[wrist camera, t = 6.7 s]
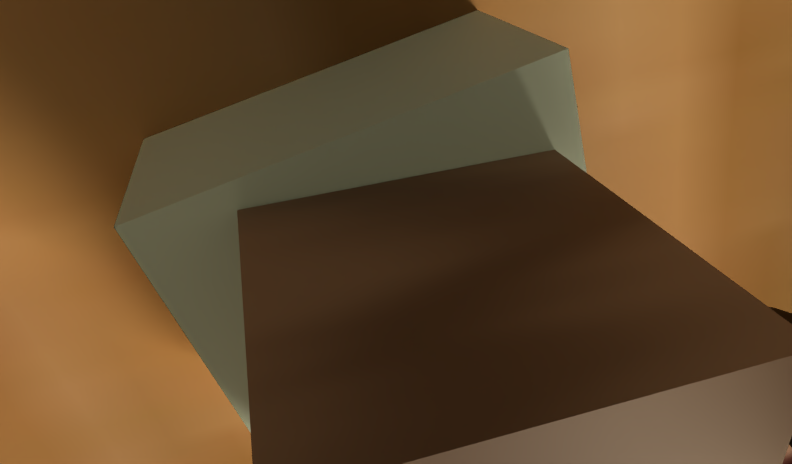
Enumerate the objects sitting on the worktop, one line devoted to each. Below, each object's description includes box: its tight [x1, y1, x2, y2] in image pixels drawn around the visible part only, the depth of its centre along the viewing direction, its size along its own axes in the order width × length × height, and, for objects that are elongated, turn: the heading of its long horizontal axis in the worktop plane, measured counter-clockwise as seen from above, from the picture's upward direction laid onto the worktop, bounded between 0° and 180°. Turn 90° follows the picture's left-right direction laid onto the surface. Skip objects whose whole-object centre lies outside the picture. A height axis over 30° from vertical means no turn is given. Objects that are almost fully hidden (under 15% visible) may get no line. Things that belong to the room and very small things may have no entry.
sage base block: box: [114, 10, 587, 432], centre depth 12 cm, size 7×7×4 cm
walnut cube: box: [237, 150, 792, 464], centre depth 8 cm, size 5×5×5 cm
